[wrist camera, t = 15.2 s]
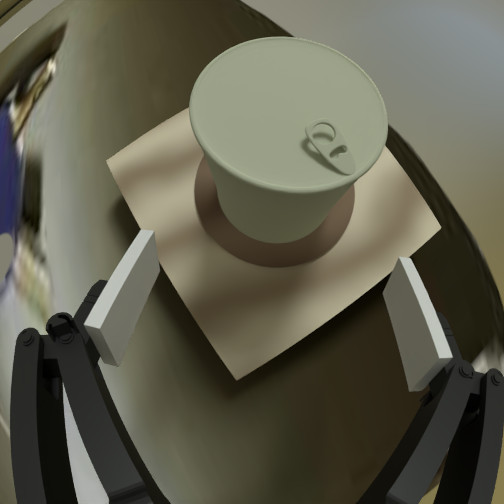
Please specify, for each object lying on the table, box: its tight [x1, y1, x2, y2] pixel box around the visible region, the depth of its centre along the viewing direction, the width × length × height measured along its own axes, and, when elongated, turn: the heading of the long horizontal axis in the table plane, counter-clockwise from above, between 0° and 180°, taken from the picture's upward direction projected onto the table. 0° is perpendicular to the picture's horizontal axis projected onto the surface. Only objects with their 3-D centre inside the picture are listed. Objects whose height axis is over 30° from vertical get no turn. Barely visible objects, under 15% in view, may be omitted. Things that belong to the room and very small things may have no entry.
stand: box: [106, 108, 441, 380], centre depth 26 cm, size 22×22×5 cm
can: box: [189, 37, 388, 243], centre depth 17 cm, size 9×9×12 cm
